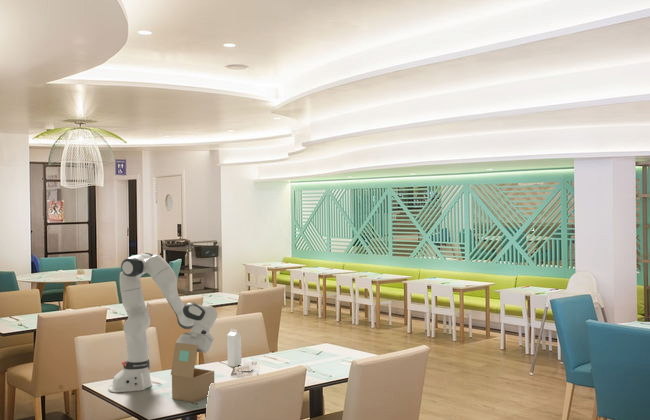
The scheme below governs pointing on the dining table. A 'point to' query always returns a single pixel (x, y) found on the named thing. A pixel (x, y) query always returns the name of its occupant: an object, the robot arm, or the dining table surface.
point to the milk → (234, 348)
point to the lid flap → (184, 360)
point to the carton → (192, 385)
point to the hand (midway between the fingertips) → (185, 357)
